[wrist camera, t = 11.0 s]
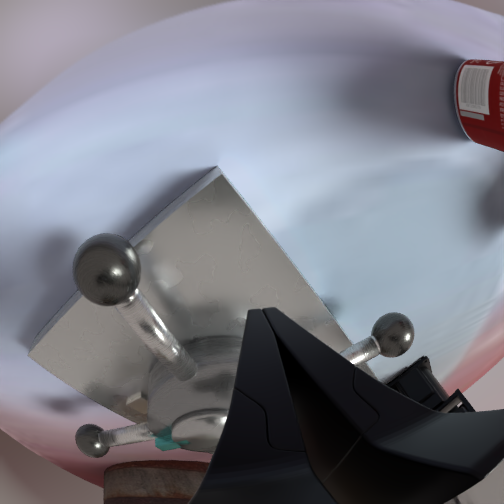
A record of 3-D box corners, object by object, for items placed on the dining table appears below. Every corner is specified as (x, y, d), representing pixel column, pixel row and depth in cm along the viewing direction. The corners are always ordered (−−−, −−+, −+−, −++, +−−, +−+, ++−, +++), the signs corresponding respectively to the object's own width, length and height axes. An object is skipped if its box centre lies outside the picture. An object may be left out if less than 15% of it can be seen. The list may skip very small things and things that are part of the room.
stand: (370, 368, 26) (381, 385, 24) (230, 446, 28) (234, 463, 26) (217, 165, 14) (222, 175, 12) (35, 336, 16) (25, 359, 14)
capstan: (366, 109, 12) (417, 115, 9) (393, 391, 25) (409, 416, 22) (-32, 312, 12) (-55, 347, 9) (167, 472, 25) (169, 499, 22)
